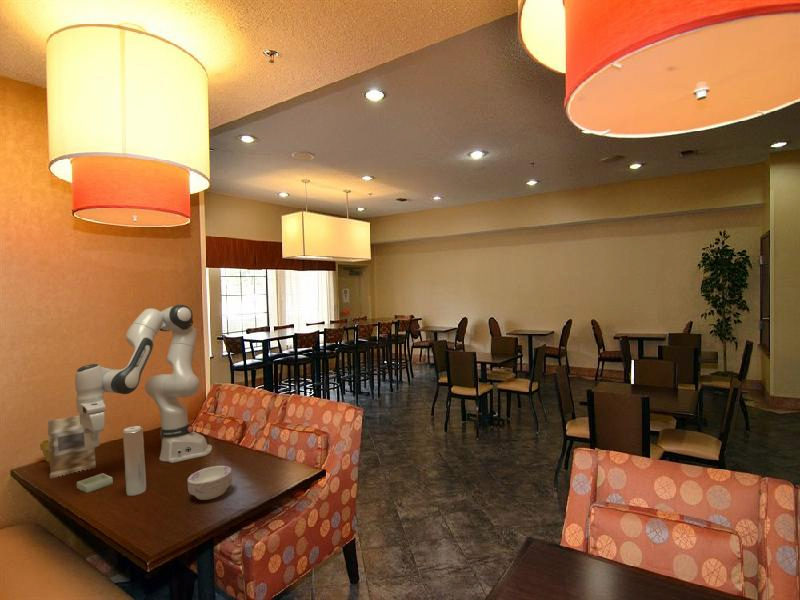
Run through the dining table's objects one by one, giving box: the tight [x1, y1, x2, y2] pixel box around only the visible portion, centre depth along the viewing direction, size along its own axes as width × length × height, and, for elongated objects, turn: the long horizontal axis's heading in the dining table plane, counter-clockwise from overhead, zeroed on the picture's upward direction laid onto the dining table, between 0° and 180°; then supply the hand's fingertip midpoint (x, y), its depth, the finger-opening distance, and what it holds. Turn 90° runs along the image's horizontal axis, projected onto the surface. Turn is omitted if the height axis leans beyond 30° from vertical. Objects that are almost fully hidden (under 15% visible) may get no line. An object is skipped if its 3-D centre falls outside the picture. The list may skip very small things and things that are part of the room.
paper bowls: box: [187, 465, 233, 501], centre depth 156 cm, size 15×15×8 cm
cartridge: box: [84, 429, 101, 449], centre depth 169 cm, size 5×5×7 cm
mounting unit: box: [47, 415, 97, 479], centre depth 187 cm, size 16×10×23 cm, turn 127°
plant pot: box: [39, 439, 50, 462], centre depth 201 cm, size 10×10×10 cm
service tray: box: [76, 472, 114, 494], centre depth 169 cm, size 9×9×2 cm
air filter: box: [122, 425, 147, 497], centre depth 161 cm, size 6×6×25 cm
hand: (92, 439), depth 169 cm, fingers closed on cartridge, 5 cm apart
